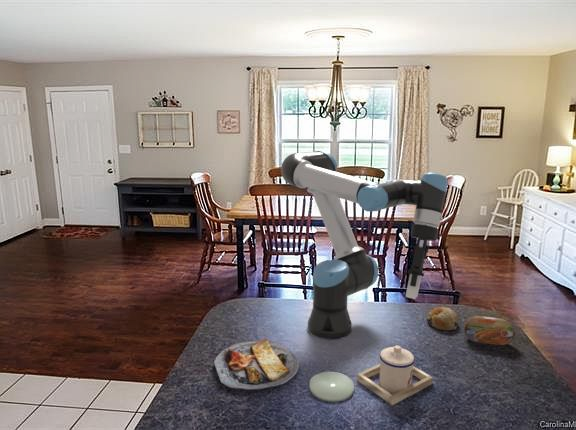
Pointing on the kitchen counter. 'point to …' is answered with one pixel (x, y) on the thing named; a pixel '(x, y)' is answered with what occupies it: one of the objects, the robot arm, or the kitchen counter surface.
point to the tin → (489, 330)
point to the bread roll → (443, 318)
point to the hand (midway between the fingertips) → (411, 297)
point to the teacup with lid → (396, 369)
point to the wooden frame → (402, 394)
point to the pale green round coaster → (331, 386)
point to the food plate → (256, 364)
